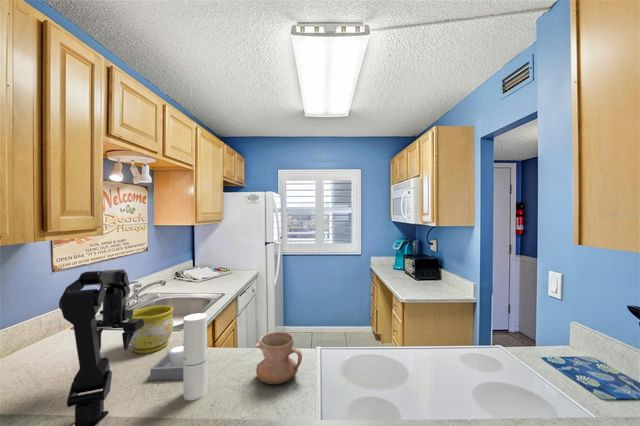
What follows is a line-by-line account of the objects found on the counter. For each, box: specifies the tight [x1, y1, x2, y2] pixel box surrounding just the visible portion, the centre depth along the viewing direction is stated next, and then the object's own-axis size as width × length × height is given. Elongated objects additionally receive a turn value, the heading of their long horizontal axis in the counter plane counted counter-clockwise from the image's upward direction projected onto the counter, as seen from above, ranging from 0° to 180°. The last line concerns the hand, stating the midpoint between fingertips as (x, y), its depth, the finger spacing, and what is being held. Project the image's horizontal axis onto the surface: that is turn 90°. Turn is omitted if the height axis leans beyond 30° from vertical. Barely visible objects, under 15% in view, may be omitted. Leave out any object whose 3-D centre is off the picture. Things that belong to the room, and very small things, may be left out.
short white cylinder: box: [168, 344, 184, 367], centre depth 106 cm, size 7×7×7 cm
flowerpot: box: [128, 305, 174, 354], centre depth 126 cm, size 18×18×16 cm
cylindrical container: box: [182, 312, 208, 401], centre depth 91 cm, size 7×7×25 cm
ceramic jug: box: [254, 331, 303, 385], centre depth 100 cm, size 18×14×14 cm
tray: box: [149, 351, 183, 381], centre depth 106 cm, size 14×14×4 cm
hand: (112, 350), depth 97 cm, fingers open, 9 cm apart
